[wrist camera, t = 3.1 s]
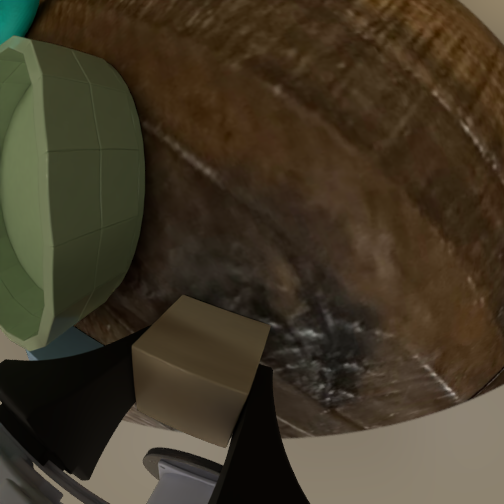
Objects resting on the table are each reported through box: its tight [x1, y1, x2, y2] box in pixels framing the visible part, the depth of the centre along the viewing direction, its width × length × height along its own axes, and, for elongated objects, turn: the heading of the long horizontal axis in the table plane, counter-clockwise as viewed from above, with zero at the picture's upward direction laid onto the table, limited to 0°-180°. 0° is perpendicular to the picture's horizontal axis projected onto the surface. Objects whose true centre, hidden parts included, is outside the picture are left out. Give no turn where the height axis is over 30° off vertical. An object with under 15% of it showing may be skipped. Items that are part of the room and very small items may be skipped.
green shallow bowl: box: [0, 35, 145, 351], centre depth 9 cm, size 15×15×5 cm
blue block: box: [25, 326, 104, 361], centre depth 13 cm, size 4×4×4 cm
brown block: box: [132, 295, 271, 448], centre depth 10 cm, size 4×4×4 cm
